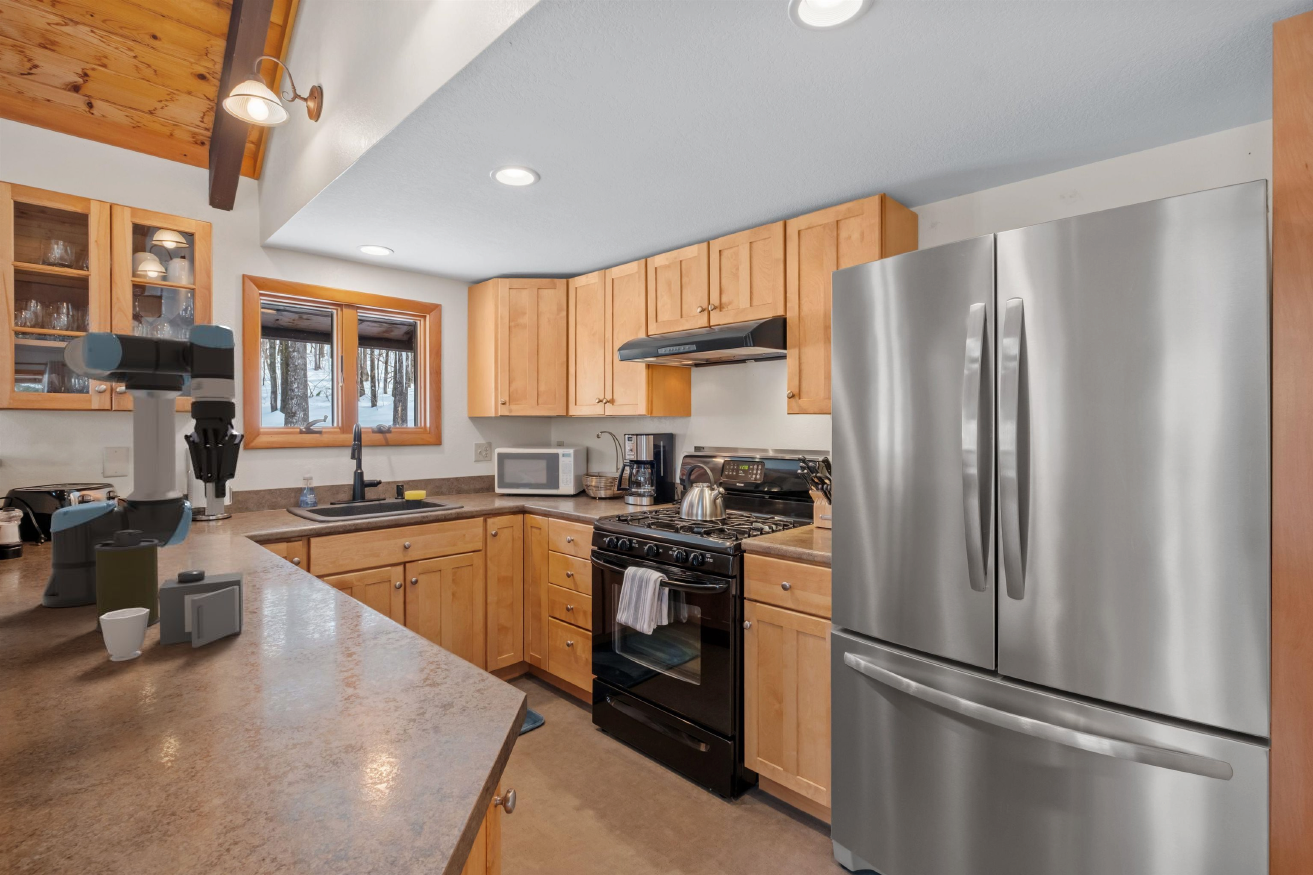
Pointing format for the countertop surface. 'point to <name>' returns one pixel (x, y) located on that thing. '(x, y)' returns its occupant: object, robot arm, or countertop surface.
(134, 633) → the cup
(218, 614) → the door
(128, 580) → the canister
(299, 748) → the countertop surface
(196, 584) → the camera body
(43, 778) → the countertop surface
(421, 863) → the countertop surface
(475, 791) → the countertop surface
